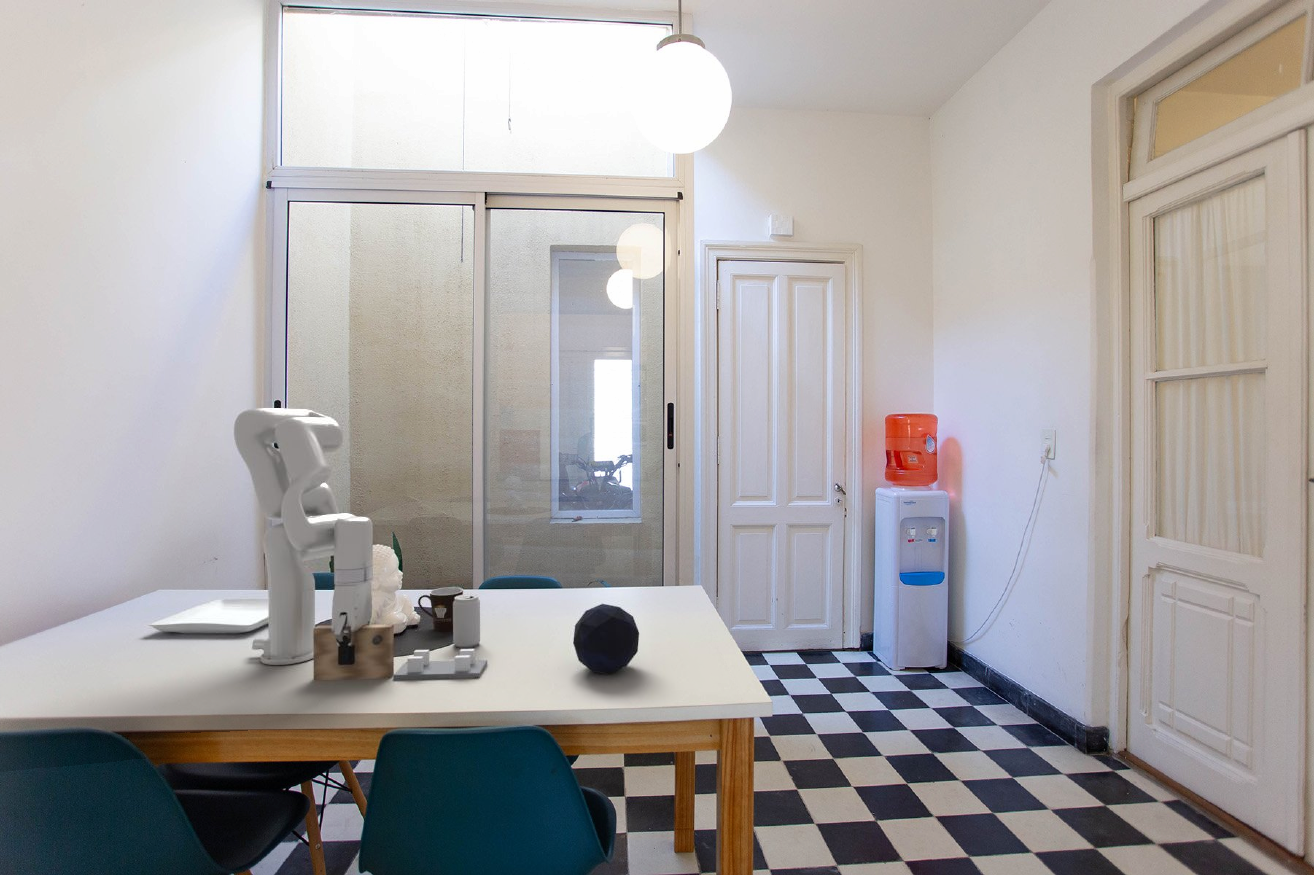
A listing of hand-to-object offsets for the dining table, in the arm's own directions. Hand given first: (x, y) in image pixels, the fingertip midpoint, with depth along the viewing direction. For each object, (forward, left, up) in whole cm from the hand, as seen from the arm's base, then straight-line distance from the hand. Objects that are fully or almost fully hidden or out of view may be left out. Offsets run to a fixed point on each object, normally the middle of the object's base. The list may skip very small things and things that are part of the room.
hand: (354, 657), depth 136 cm
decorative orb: (+54, +1, -4) cm, 54 cm away
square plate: (-51, +44, -5) cm, 68 cm away
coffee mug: (+9, +35, -4) cm, 36 cm away
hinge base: (+18, +2, -4) cm, 19 cm away
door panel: (0, 0, -4) cm, 4 cm away
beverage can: (+19, +20, -4) cm, 28 cm away
